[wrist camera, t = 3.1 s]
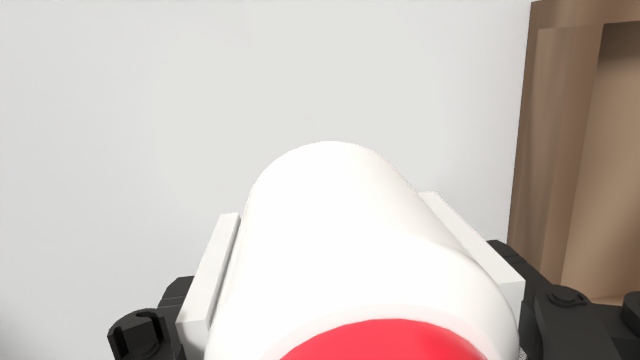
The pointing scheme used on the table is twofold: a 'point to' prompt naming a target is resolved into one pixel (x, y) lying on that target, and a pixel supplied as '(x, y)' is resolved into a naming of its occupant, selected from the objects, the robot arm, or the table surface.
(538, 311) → the robot arm
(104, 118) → the table surface
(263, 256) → the pill bottle
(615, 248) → the tray
